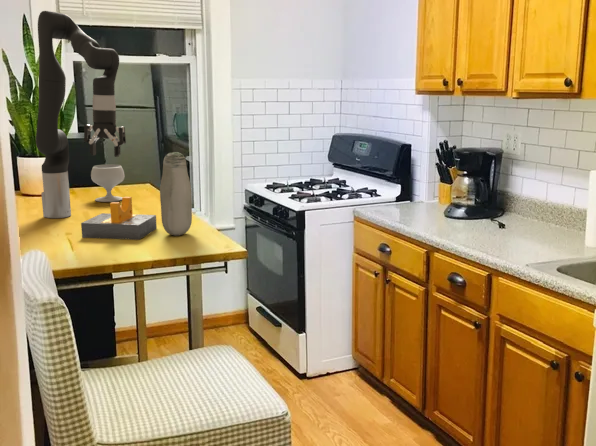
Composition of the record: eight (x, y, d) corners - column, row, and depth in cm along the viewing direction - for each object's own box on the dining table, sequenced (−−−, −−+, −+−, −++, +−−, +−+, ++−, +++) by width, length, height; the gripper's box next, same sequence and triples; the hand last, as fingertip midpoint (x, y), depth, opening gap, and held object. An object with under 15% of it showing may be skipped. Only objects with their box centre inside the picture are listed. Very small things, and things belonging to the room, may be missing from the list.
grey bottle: (189, 238, 214) (186, 154, 208) (159, 237, 214) (155, 154, 208) (195, 231, 224) (192, 150, 218) (165, 231, 224) (162, 150, 218)
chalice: (94, 204, 272) (92, 168, 269) (91, 198, 285) (88, 164, 281) (128, 201, 277) (126, 167, 274) (123, 196, 290) (121, 163, 287)
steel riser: (82, 237, 214) (81, 222, 213) (103, 227, 230) (102, 212, 229) (139, 239, 212) (138, 224, 211) (156, 228, 227) (155, 214, 226)
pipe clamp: (120, 214, 226) (119, 196, 224) (132, 215, 225) (131, 196, 224) (106, 222, 214) (104, 203, 213) (118, 222, 213) (117, 203, 212)
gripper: (79, 107, 217) (80, 155, 221) (119, 110, 215) (119, 158, 218) (90, 107, 224) (91, 153, 228) (128, 109, 222) (129, 156, 226)
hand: (105, 155), depth 223 cm, fingers open, 8 cm apart
